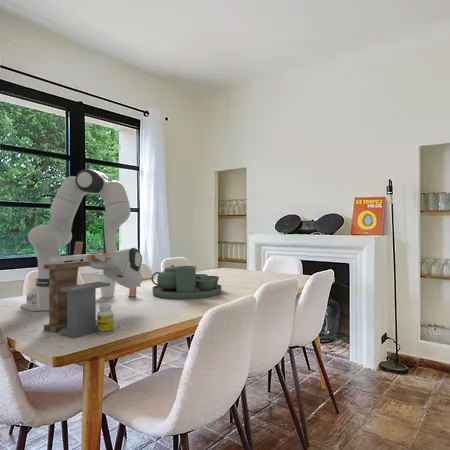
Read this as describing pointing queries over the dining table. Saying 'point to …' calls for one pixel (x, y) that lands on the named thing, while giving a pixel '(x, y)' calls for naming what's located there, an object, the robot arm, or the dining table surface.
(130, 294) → the grandmother figurine
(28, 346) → the dining table surface
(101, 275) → the foam cup
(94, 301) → the rack
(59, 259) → the wooden handled knife
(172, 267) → the tea set
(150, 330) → the dining table surface
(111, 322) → the supplement bottle
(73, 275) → the tall stand
